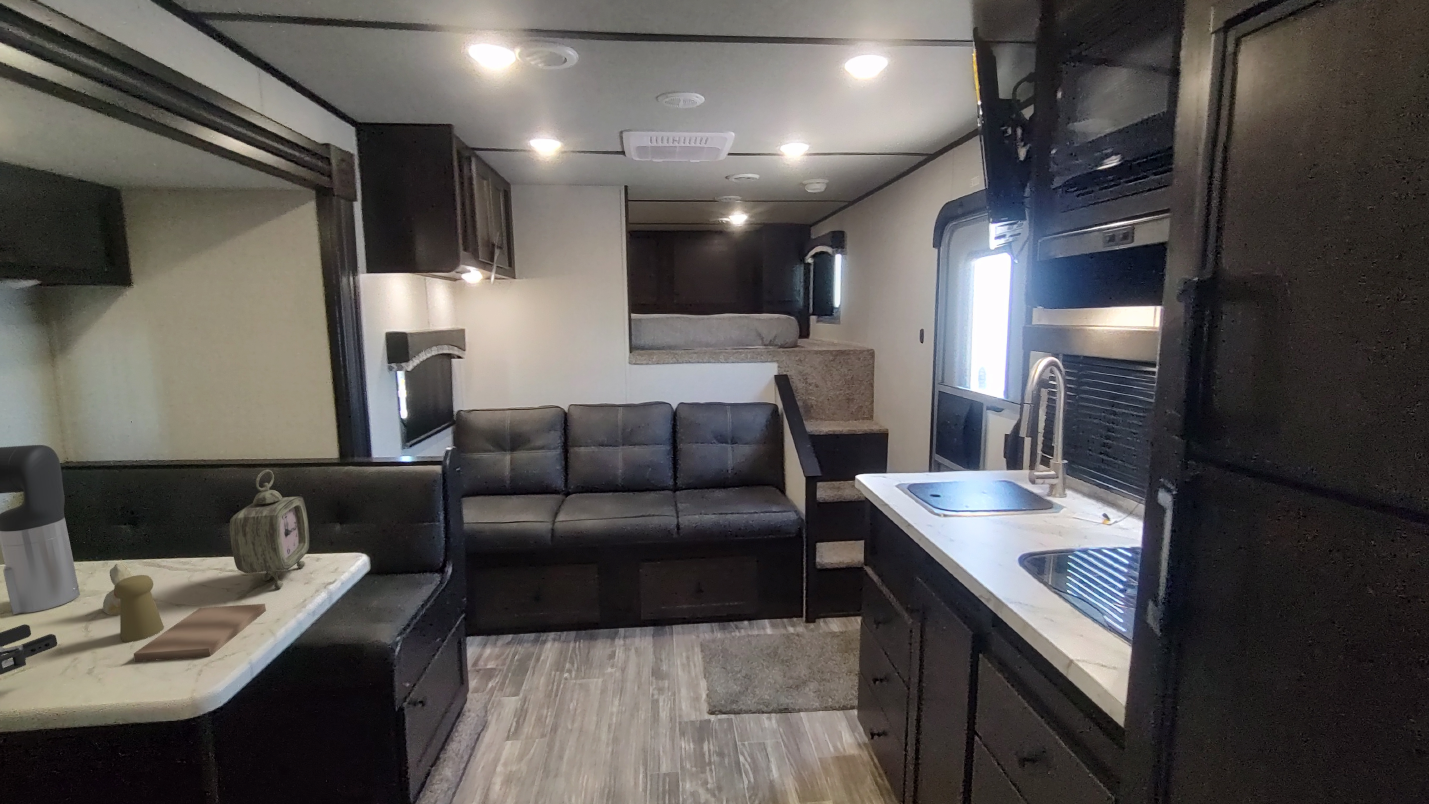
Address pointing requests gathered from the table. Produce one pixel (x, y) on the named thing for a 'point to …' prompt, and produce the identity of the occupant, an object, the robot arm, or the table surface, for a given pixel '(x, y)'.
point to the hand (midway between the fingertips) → (42, 634)
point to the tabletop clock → (270, 533)
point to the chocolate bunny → (111, 600)
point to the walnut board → (201, 632)
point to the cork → (137, 609)
